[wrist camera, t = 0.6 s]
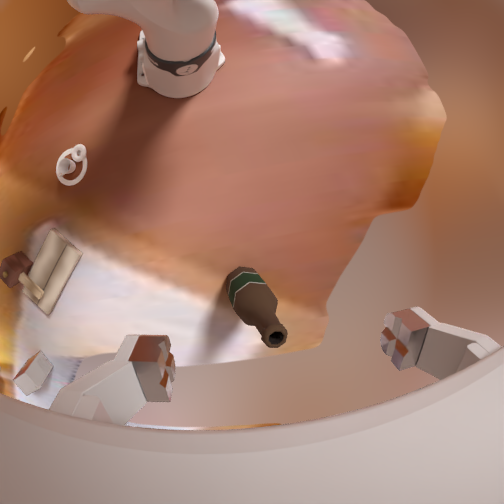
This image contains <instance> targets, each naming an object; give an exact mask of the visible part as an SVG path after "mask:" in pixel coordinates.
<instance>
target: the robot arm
mask: <svg viewBox="0 0 504 504" xmlns="http://www.w3.org/2000/svg"><path fill="white" fill-rule="evenodd" d="M67 1H68V3H69V4H70V5H71V6H72V7H73V8H75V9H76V10H78V11H79V12H81V13H84V14H108V15H114V16H119V17H122V18H125V19H128V20H130V21H132V22H134V23H136V24H138V25H139V26H140V27H141V28H142V31H141V32H140V39H139V41H138V42H137V48H138V50H139V52H138V69H137V82H138V84H139V85H141V86H145V87H150V88H152V89H154V90H155V91H156V92H158V93H159V94H161V95H163V96H166V97H171V98H184V97H189V96H192V95H194V94H197V93H199V92H200V91H202V90H203V89H204V88H206V87H207V86H208V85H209V83H210V82H211V81H212V79H213V77H214V75H215V72H216V71H217V69H219V68H220V67H221V66H222V65H223V64H224V63H225V57H224V55H223V54H222V52H221V46H220V45H218V43H217V41H216V31H215V28H216V24H217V19H218V7H217V5H216V3H215V1H214V0H67ZM142 74H144V76H141V75H142ZM384 324H385V326H386V328H385V329H384V330H383V332H382V334H381V339H380V341H381V347H382V350H383V351H384V353H385V354H386V355H388V356H391V357H392V358H391V361H392V363H393V364H394V365H395V366H396V368H397V369H398V370H399V371H400V370H404V369H407V368H410V367H414V366H416V367H417V368H419V369H421V370H423V371H425V372H427V373H428V374H430V375H432V376H434V377H436V378H438V379H440V380H439V381H437V382H435V383H432V384H430V385H428V386H425V387H423V388H420V389H418V390H415V391H413V392H410V393H407V394H404V395H402V396H399V397H396V398H393V399H390V400H387V401H384V402H381V403H377V404H374V405H371V406H367V407H364V408H361V409H357V410H353V411H349V412H345V413H341V414H337V415H332V416H328V417H324V418H319V419H314V420H308V421H302V422H296V423H290V424H283V425H275V426H267V427H258V428H246V429H231V430H167V429H152V428H141V427H132V426H124V425H125V424H126V423H127V422H128V421H129V420H130V419H131V418H132V417H133V416H134V415H135V414H136V413H137V412H138V411H139V410H140V409H141V408H142V407H143V406H144V405H145V404H146V403H147V402H146V401H148V402H149V401H150V402H170V400H171V394H172V389H173V388H172V385H171V382H173V381H174V378H175V361H174V356H173V355H172V354H171V353H170V352H169V351H170V347H171V344H170V340H169V337H168V336H167V335H126V337H125V339H124V341H123V343H122V344H121V346H120V348H119V350H118V352H117V354H116V356H115V358H114V360H113V361H112V360H109V361H108V362H106V363H104V364H102V365H101V366H99V367H97V368H96V369H94V370H92V371H91V372H89V373H87V374H85V375H84V376H82V377H80V378H79V379H77V380H75V381H73V382H72V383H70V384H68V385H67V386H65V387H63V388H61V389H60V391H59V393H58V395H57V396H56V398H55V400H54V401H53V403H52V405H51V407H50V408H49V410H47V409H44V408H41V407H37V406H34V405H31V404H28V403H25V402H22V401H20V400H17V399H14V398H12V397H9V396H6V395H4V394H2V393H0V504H504V346H503V347H501V346H500V345H499V344H497V343H496V342H495V341H494V340H492V339H491V338H490V337H489V336H487V335H484V334H480V333H477V332H473V331H470V330H466V329H462V328H459V327H456V326H452V325H449V324H445V323H439V322H438V321H437V320H435V319H434V318H433V317H432V316H430V315H429V314H428V313H426V312H425V311H424V310H423V309H421V308H420V307H417V306H416V307H412V308H409V309H405V310H401V311H397V312H392V313H388V314H387V315H386V317H385V320H384Z"/></svg>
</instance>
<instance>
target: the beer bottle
mask: <svg viewBox="0 0 504 504" xmlns="http://www.w3.org/2000/svg"><path fill="white" fill-rule="evenodd" d="M226 291H227V293H228V296H229V299H230V301H231V304H232V306H233V309H234V310H235V312H236V313H237V314H238V316H239V317H240V318H241V319H242V320H243V322H244V323H245V324H247V325H251V326H256V328H257V329H258V331H259V332H260V334H261V335H262V337H261V340H262V341H263V342H264V343H265V344H266V345H267V346H268V347H269V348H278V347H280V346H281V345H282V344H284V343H285V342H286V338H287V335H288V334H287V330H286V329H285V327H284V326H283V325H282V324H280V322H279V320H278V318H277V317H276V315H275V313H276V308H277V301H278V300H277V298H276V297H275V295H274V294H273V293H272V291H271V290H270V288H269V287H268V286H267V284H266V283H265V282H264V281H263V280H262V278H261V277H260V276H259V275H258V273H257V272H256V271H255V270H254V269H253V268H246V267H238V268H237V269H235V270H234V271H233V272H231V273H230V274H229V275H228V278H227V284H226Z"/></svg>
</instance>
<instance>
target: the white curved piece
mask: <svg viewBox="0 0 504 504" xmlns="http://www.w3.org/2000/svg"><path fill="white" fill-rule="evenodd" d="M70 153H72V158H73V160H74V161H76V162H80V161H83V168H82V171H81V173H80V175H79V176H78V177H77V178H76V179H74V180H66V179H64V178H63V177H62V176H63V175H65V174H69V173H72V172H73V171H74V170H75V168H76V165H75V162H74V161H72V160H70V159H68V158H64V157H65V156H66V155H68V154H70ZM77 154H78V155H80V156H78V155H77ZM69 164H70V169H69V170H68V166H69ZM86 170H87V158H86V148H85V146H84V145H82V144H78V145H76V146H75V147H74V148H71V149H68V150H66V151H65V152H64V153H63V154H62V155H61V156H60V158H59V159H58V162H57V166H56V174H57V177H58V179H59V181H60V182H61V183H63V184H64V185H68V186H71V185H75V184H77V183H78V182H79V181H80V180H81V179H82V178H83V177H84V175H85V173H86ZM61 173H62V174H61Z"/></svg>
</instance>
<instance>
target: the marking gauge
mask: <svg viewBox="0 0 504 504" xmlns="http://www.w3.org/2000/svg"><path fill="white" fill-rule="evenodd" d="M32 264H33V262H31V261H30V260H29V259H28V257H27V256H26V255H25V254H24V253H23V252H22V251H20V252H18V253H16V254H13V255H11V256H9V257H7V258H5V259H3V261H2V264H1V267H0V278H1V279H2V280H3V281H4V283H5V284H6V285H7V286H8V287H9V288H11V287H13V286H14V285H16V284H17V283H19V282H21V283H22V284H23V285H24V286H25V287H26V288H27V289H28V290H29V291H30V292H31V293H33V294H34V295H35V296H36V297H37V298H38V299H40V298H41V297H42V296H43V294H44V289H41V288H40V287H39V286H38V285H37V284H36V283H34V282H33V281H32V280H31V279H30V278H29V277H28V273H29V271H30V269H31V266H32Z"/></svg>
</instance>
